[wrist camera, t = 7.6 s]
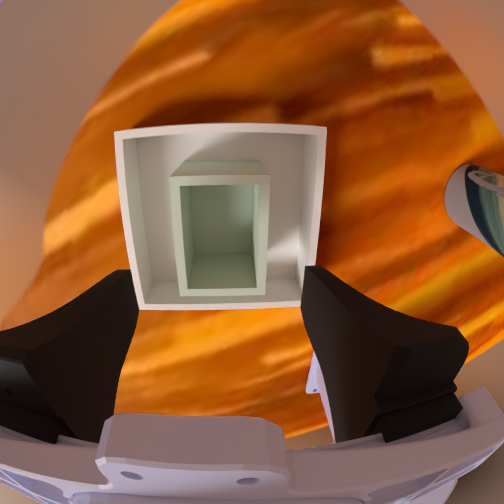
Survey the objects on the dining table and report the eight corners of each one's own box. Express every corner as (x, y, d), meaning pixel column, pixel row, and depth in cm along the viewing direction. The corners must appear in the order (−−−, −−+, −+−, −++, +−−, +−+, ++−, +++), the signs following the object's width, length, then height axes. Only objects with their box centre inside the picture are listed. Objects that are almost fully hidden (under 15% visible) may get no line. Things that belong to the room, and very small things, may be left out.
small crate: (183, 161, 19) (169, 176, 14) (259, 160, 19) (270, 175, 14) (188, 257, 22) (179, 296, 17) (257, 256, 22) (265, 294, 18)
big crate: (310, 124, 19) (327, 127, 15) (299, 280, 24) (309, 305, 21) (132, 128, 18) (114, 131, 15) (149, 283, 23) (139, 309, 20)
